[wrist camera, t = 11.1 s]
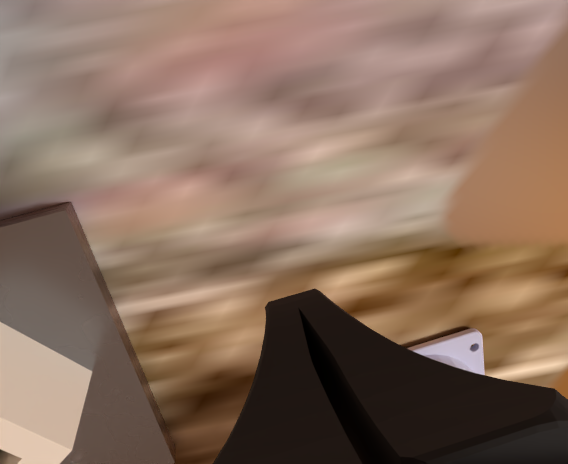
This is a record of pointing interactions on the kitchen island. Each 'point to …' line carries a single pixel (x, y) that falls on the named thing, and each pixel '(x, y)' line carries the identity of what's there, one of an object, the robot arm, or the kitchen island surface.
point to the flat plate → (80, 335)
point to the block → (38, 400)
